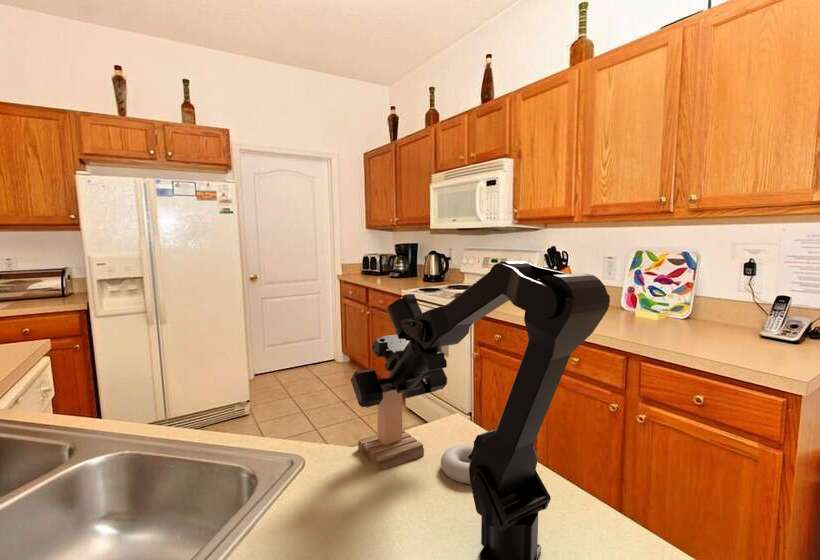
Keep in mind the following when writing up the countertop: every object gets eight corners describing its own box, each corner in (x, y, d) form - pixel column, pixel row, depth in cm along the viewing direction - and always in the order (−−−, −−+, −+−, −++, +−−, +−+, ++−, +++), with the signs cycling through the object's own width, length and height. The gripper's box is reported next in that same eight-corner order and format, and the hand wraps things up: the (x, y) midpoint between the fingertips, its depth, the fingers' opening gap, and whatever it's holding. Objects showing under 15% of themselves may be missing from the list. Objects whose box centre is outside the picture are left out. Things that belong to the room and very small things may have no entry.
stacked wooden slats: (423, 455, 79) (423, 445, 79) (378, 470, 73) (378, 459, 73) (400, 437, 86) (400, 427, 86) (358, 449, 81) (358, 439, 81)
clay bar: (402, 439, 81) (402, 386, 80) (384, 445, 79) (384, 390, 78) (394, 434, 83) (394, 382, 82) (377, 439, 81) (377, 386, 80)
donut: (457, 494, 67) (506, 479, 71) (457, 474, 67) (506, 461, 71) (431, 464, 76) (476, 453, 80) (431, 447, 76) (476, 436, 80)
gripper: (439, 319, 81) (410, 359, 91) (354, 329, 71) (332, 373, 81) (464, 367, 75) (429, 405, 85) (374, 385, 65) (348, 425, 75)
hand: (386, 400), depth 82 cm, fingers open, 9 cm apart
